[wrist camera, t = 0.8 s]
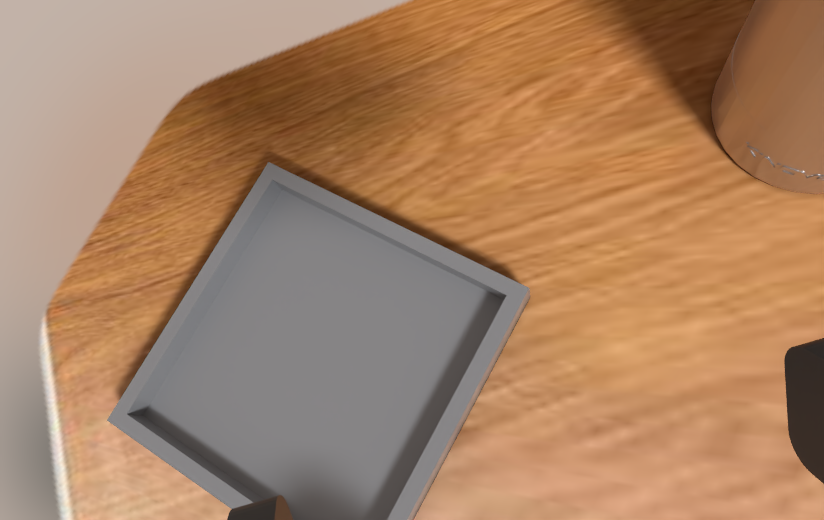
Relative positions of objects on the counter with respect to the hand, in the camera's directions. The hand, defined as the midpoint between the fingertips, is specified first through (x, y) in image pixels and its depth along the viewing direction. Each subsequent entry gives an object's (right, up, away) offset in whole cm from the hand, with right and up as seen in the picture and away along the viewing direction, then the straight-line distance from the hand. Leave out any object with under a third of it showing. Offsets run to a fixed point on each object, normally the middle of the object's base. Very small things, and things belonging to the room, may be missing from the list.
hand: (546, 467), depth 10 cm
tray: (-7, -2, +24) cm, 25 cm away
